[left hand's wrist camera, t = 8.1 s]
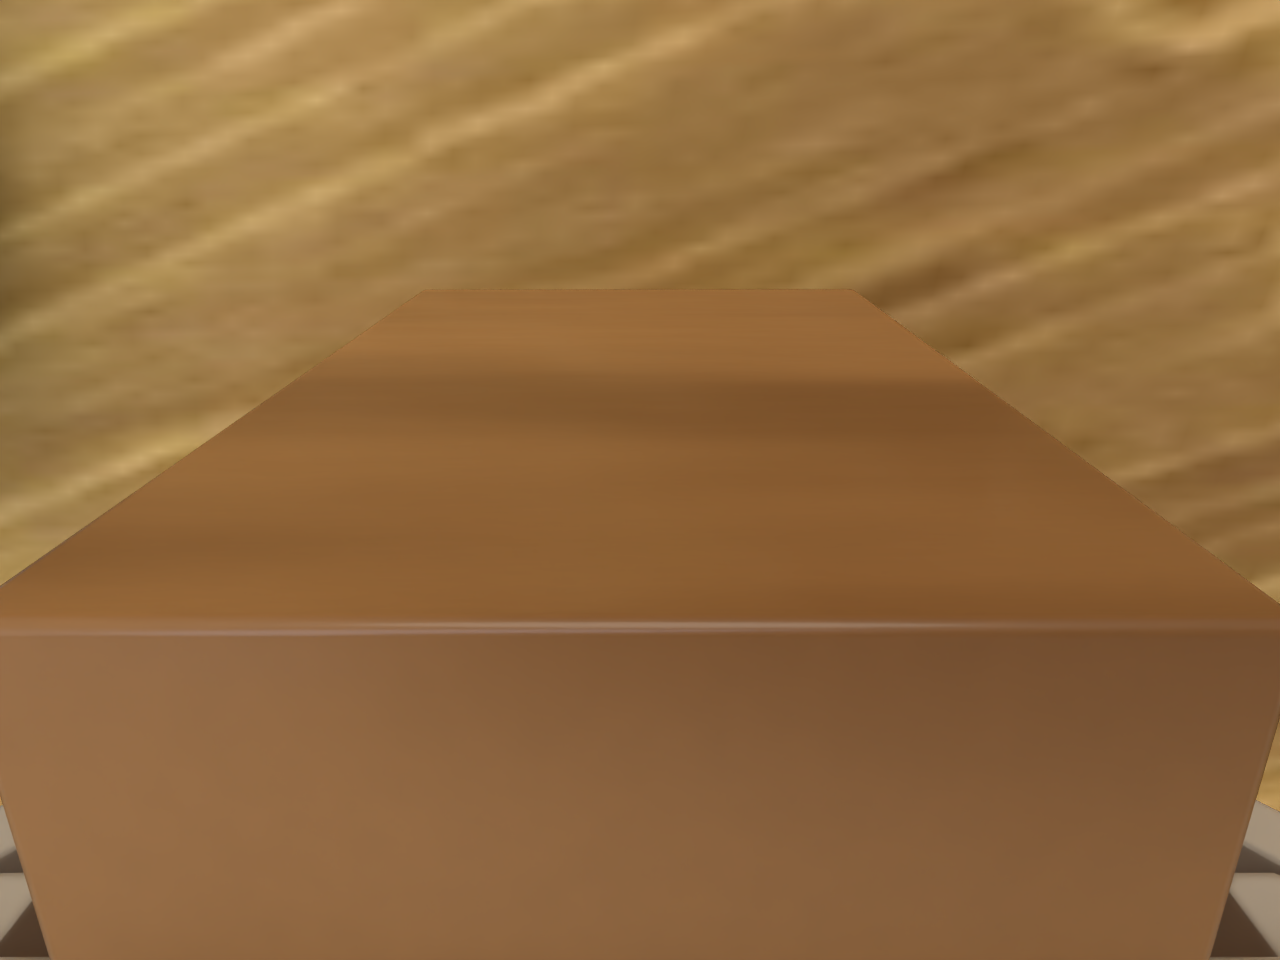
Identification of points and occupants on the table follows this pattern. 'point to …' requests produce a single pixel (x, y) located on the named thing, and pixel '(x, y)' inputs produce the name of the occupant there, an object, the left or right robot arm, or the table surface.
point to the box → (633, 662)
